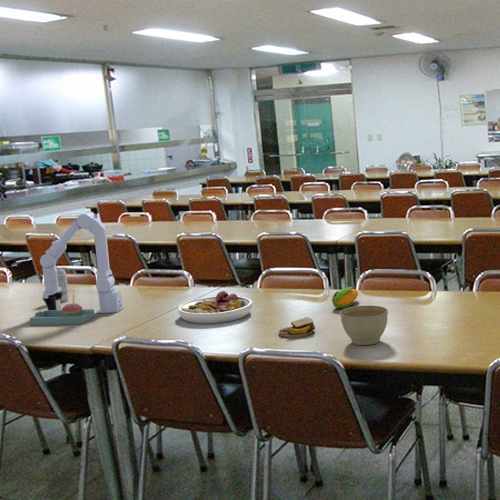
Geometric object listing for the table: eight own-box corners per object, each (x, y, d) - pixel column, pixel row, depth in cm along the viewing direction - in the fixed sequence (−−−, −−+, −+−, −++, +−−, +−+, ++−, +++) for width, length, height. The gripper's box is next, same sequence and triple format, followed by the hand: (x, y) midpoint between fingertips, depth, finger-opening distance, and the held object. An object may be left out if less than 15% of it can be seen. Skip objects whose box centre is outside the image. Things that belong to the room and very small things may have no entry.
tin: (61, 312, 346) (60, 298, 345) (57, 315, 342) (55, 300, 341) (52, 312, 347) (50, 298, 346) (48, 315, 343) (46, 301, 342)
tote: (94, 315, 334) (93, 307, 334) (82, 323, 322) (81, 315, 321) (45, 317, 339) (44, 308, 339) (30, 325, 327) (29, 316, 326)
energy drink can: (70, 299, 373) (67, 268, 370) (66, 302, 367) (63, 271, 364) (58, 300, 373) (55, 269, 371) (54, 302, 367) (50, 271, 365)
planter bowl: (384, 333, 274) (382, 303, 272) (394, 346, 258) (392, 314, 256) (338, 337, 273) (336, 307, 272) (345, 350, 257) (343, 318, 256)
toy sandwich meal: (276, 331, 288) (275, 319, 287) (311, 327, 290) (311, 315, 289) (281, 340, 276) (280, 327, 275) (319, 336, 277) (318, 323, 277)
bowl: (244, 325, 301) (242, 305, 300) (170, 327, 307) (168, 307, 306) (258, 306, 330) (257, 288, 329) (190, 308, 336) (189, 290, 335)
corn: (327, 292, 310) (347, 281, 327) (327, 310, 312) (347, 299, 329) (344, 294, 307) (364, 283, 324) (344, 312, 308) (363, 301, 325)
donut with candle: (86, 317, 333) (83, 290, 331) (77, 322, 324) (74, 294, 323) (68, 317, 335) (65, 290, 333) (58, 323, 327) (55, 295, 325)
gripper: (49, 277, 350) (53, 307, 352) (34, 284, 336) (38, 315, 338) (64, 277, 348) (68, 306, 350) (49, 284, 334) (53, 314, 336)
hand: (54, 310), depth 344 cm, fingers closed on tin, 4 cm apart
